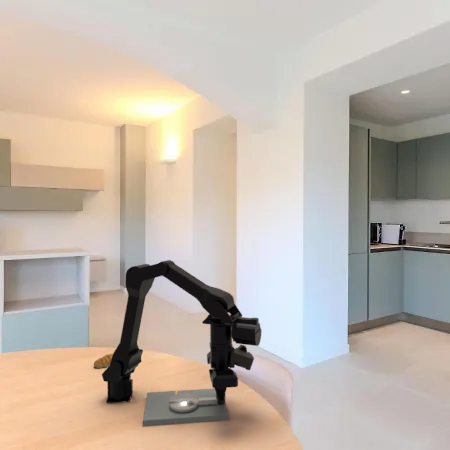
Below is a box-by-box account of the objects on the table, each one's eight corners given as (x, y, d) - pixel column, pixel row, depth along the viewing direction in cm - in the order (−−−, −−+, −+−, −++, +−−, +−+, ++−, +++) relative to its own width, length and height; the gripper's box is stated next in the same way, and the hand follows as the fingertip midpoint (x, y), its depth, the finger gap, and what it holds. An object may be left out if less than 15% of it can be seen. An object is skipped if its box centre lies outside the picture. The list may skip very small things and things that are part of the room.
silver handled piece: (168, 413, 102) (168, 395, 101) (169, 399, 110) (169, 382, 109) (227, 409, 104) (227, 392, 103) (223, 396, 111) (223, 379, 111)
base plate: (142, 426, 99) (142, 419, 99) (147, 397, 115) (147, 391, 115) (229, 420, 102) (229, 413, 102) (221, 392, 117) (221, 387, 117)
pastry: (98, 371, 135) (98, 360, 135) (90, 366, 140) (90, 355, 140) (123, 364, 141) (123, 354, 141) (114, 359, 146) (114, 349, 146)
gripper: (258, 351, 95) (258, 415, 95) (245, 329, 113) (245, 383, 114) (212, 354, 93) (212, 418, 94) (206, 331, 112) (206, 385, 112)
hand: (221, 400), depth 103 cm, fingers closed
